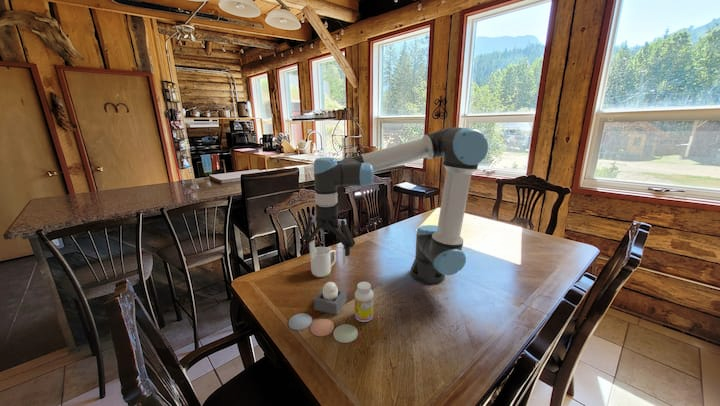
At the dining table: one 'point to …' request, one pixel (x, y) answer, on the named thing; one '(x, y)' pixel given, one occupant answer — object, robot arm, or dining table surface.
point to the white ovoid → (330, 291)
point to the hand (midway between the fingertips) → (328, 260)
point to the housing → (330, 302)
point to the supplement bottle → (364, 302)
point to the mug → (322, 261)
